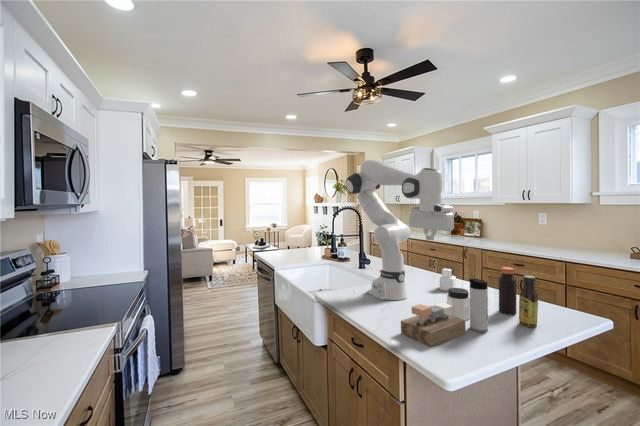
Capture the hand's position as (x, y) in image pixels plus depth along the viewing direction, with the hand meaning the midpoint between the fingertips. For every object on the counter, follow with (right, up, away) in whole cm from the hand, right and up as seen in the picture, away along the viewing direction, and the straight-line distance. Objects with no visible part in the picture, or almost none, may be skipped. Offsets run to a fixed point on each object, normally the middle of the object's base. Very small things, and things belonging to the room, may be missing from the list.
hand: (429, 239), depth 132 cm
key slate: (-3, -33, -11) cm, 35 cm away
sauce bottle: (+38, -34, -6) cm, 51 cm away
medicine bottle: (+27, -32, +47) cm, 63 cm away
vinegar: (+38, -34, +9) cm, 51 cm away
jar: (+14, -34, +4) cm, 37 cm away
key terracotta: (-8, -31, -15) cm, 36 cm away
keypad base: (-3, -35, -11) cm, 37 cm away
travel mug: (+16, -35, -9) cm, 39 cm away
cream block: (+3, -33, -8) cm, 34 cm away
